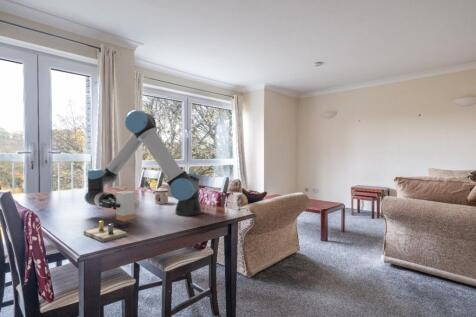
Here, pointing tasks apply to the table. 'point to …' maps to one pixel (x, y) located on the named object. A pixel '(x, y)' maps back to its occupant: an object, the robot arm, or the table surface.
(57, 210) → the table surface
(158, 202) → the wooden birdhouse
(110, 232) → the steel pin
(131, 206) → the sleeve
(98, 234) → the pin board
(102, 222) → the brass pin
